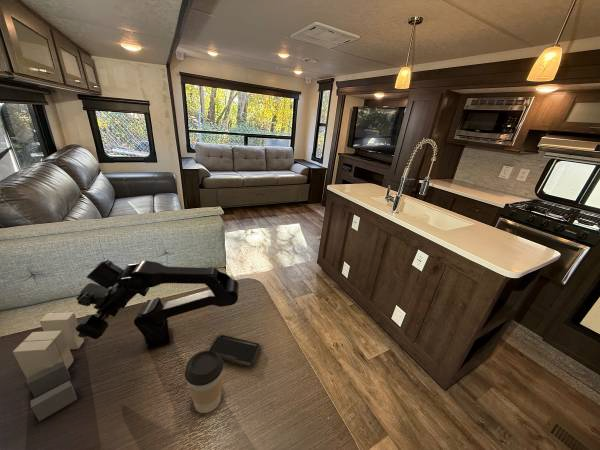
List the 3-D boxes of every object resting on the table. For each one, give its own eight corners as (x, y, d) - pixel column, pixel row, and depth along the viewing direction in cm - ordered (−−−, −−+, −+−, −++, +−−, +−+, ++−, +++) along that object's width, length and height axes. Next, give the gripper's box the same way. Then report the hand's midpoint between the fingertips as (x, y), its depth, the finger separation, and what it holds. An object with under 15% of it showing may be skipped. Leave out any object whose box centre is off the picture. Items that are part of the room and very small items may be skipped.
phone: (219, 334, 85) (260, 344, 83) (219, 336, 85) (260, 346, 83) (207, 353, 78) (252, 365, 75) (207, 356, 78) (252, 367, 76)
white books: (74, 360, 73) (62, 330, 68) (59, 380, 68) (45, 349, 63) (46, 362, 72) (32, 332, 67) (28, 383, 66) (12, 351, 61)
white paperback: (84, 340, 79) (74, 312, 75) (78, 348, 77) (67, 319, 72) (59, 342, 78) (47, 313, 73) (52, 350, 75) (39, 321, 70)
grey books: (69, 374, 69) (63, 360, 67) (77, 399, 64) (71, 385, 62) (33, 392, 64) (26, 378, 62) (39, 421, 59) (31, 407, 57)
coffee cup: (204, 426, 61) (200, 386, 55) (181, 403, 65) (175, 364, 59) (232, 395, 68) (230, 357, 62) (209, 376, 72) (206, 339, 66)
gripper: (112, 261, 78) (82, 290, 81) (74, 301, 62) (36, 336, 64) (144, 280, 83) (114, 307, 85) (116, 323, 66) (79, 355, 68)
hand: (89, 324), depth 76 cm, fingers open, 9 cm apart
